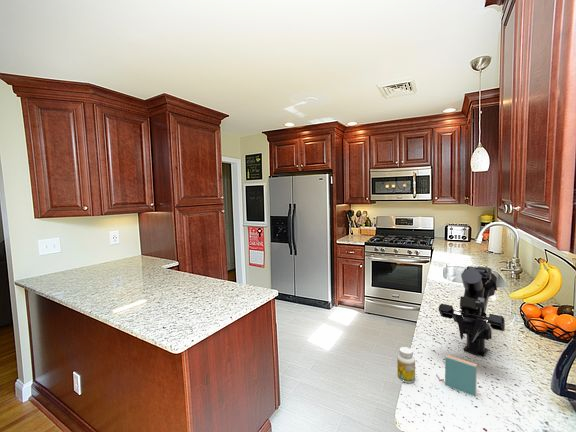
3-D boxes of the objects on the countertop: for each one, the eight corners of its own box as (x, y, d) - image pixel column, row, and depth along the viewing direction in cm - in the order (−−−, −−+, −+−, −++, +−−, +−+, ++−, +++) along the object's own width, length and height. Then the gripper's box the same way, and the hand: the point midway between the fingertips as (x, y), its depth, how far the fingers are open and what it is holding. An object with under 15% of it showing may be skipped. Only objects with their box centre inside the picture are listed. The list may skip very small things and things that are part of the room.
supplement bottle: (418, 383, 89) (418, 354, 89) (401, 383, 89) (401, 355, 89) (410, 372, 95) (410, 345, 94) (394, 373, 95) (394, 345, 94)
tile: (446, 381, 90) (446, 354, 89) (476, 392, 84) (476, 364, 84) (445, 384, 88) (445, 357, 88) (475, 396, 83) (475, 367, 82)
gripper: (440, 281, 101) (431, 321, 94) (505, 292, 89) (500, 339, 82) (445, 296, 108) (437, 335, 100) (506, 308, 95) (502, 353, 88)
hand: (466, 340), depth 92 cm, fingers open, 3 cm apart
